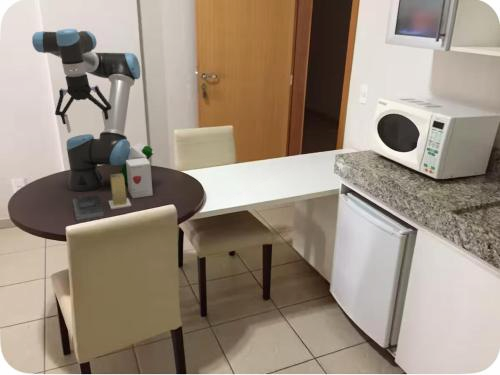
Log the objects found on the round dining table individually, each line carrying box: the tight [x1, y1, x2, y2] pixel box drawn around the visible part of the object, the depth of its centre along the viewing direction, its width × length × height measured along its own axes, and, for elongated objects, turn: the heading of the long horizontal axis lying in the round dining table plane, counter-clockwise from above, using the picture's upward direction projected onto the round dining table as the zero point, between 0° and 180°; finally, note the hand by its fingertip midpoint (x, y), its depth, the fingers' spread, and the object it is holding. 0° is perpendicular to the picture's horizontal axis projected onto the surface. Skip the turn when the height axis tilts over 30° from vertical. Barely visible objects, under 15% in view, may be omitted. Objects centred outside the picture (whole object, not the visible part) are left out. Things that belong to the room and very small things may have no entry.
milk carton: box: [119, 142, 155, 185], centre depth 194 cm, size 9×9×20 cm
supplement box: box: [126, 158, 154, 199], centre depth 185 cm, size 9×9×15 cm
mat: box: [108, 197, 132, 210], centre depth 176 cm, size 8×8×1 cm
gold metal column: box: [109, 172, 127, 206], centre depth 174 cm, size 5×5×12 cm
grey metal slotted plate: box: [72, 194, 105, 221], centre depth 171 cm, size 18×10×2 cm, turn 25°
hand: (88, 129), depth 165 cm, fingers open, 13 cm apart
